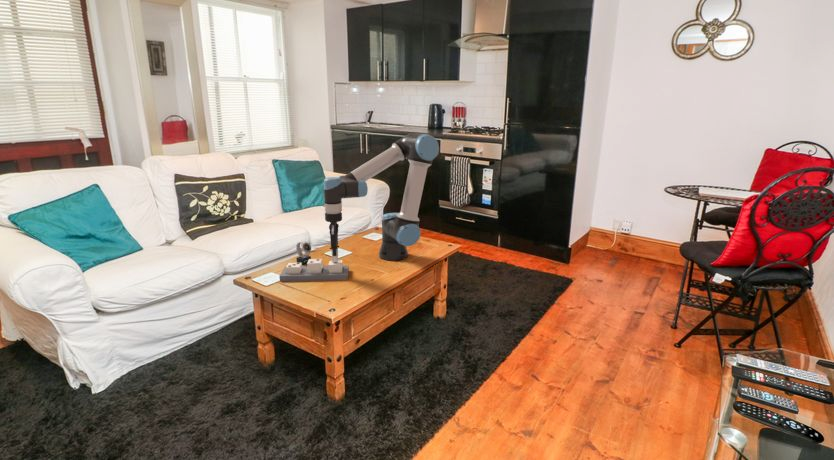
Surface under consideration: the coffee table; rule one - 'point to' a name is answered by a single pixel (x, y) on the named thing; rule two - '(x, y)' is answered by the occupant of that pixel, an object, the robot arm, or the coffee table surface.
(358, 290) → the coffee table surface
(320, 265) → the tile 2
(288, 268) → the white die
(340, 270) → the white die
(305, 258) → the watch
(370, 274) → the coffee table surface
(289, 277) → the board
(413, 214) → the robot arm
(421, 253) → the coffee table surface
